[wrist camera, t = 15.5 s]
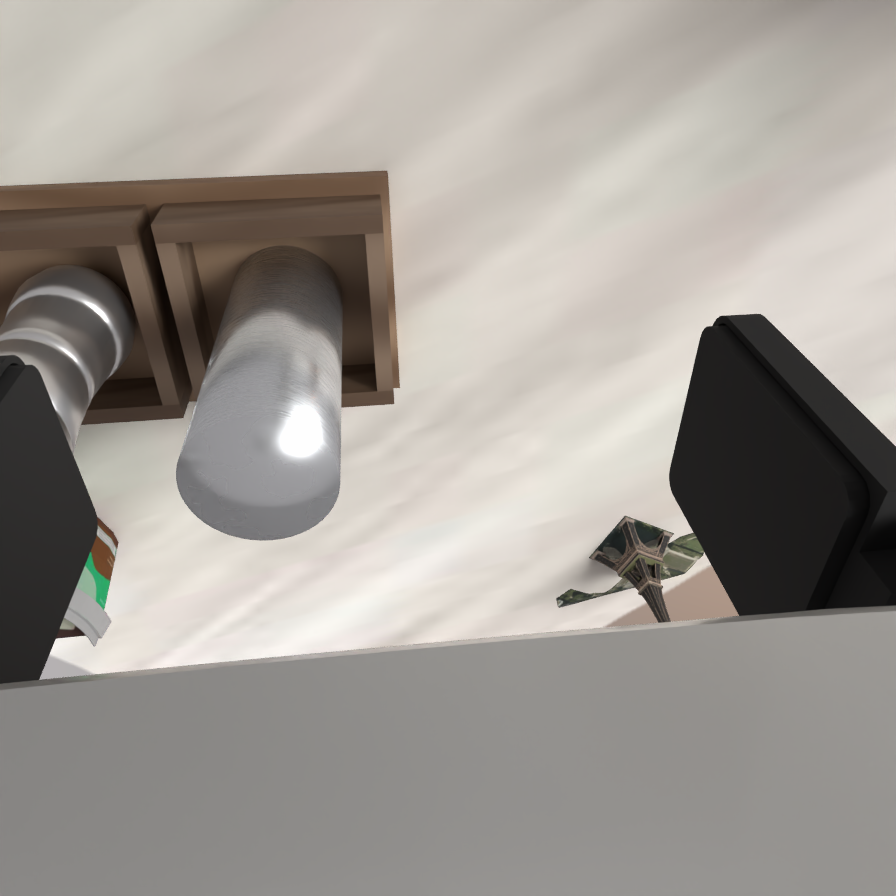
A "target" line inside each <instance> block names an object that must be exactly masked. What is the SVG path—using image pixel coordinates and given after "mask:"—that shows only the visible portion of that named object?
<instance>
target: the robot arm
mask: <svg viewBox="0 0 896 896" xmlns="http://www.w3.org/2000/svg"><path fill="white" fill-rule="evenodd" d="M669 481H670V487H671V491H672V493H673V496H674V497H675V499H676V501H677V503H678V505H679V506H680V508H681V510H682V512H683V514H684V516H685V517H686V519H687V521H688V523H689V525H690V527H691V528H692V530H693V532H694V534H695V536H696V537H697V539H698V541H699V543H700V545H701V547H702V548H703V550H704V552H705V554H706V556H707V558H708V559H709V561H710V563H711V565H712V567H713V568H714V570H715V572H716V574H717V575H718V578H719V579H720V581H721V583H722V585H723V587H724V588H725V590H726V592H727V594H728V596H729V598H730V599H731V601H732V603H733V605H734V607H735V609H736V610H737V612H738V614H739V616H733V617H723V618H722V617H721V618H710V619H698V620H686V621H675V622H663V623H652V624H640V625H629V626H617V627H604V628H593V629H581V630H569V631H558V632H546V633H534V634H523V635H512V636H501V637H490V638H479V639H468V640H457V641H446V642H434V643H423V644H412V645H401V646H390V647H380V648H369V649H358V650H347V651H336V652H325V653H314V654H303V655H293V656H282V657H271V658H261V659H250V660H240V661H229V662H219V663H209V664H198V665H188V666H178V667H167V668H157V669H146V670H136V671H126V672H115V673H105V674H95V675H86V676H85V675H84V676H74V677H65V678H64V677H63V678H53V679H44V680H39V679H40V676H41V674H42V671H43V669H44V666H45V664H46V661H47V659H48V656H49V654H50V651H51V649H52V646H53V644H54V641H55V639H56V636H57V634H58V631H59V629H60V626H61V624H62V621H63V619H64V617H65V614H66V612H67V609H68V607H69V604H70V602H71V599H72V597H73V594H74V592H75V589H76V587H77V584H78V582H79V579H80V577H81V574H82V572H83V569H84V567H85V564H86V562H87V559H88V557H89V554H90V552H91V549H92V547H93V544H94V542H95V539H96V536H97V530H98V521H97V515H96V512H95V509H94V506H93V504H92V501H91V499H90V496H89V494H88V491H87V489H86V486H85V484H84V481H83V479H82V476H81V474H80V471H79V469H78V466H77V464H76V461H75V459H74V456H73V454H72V451H71V449H70V446H69V444H68V441H67V439H66V436H65V434H64V431H63V429H62V426H61V424H60V421H59V419H58V416H57V414H56V411H55V409H54V406H53V404H52V401H51V398H50V396H49V393H48V391H47V388H46V386H45V383H44V381H43V378H42V376H41V374H40V372H39V370H38V369H37V368H36V367H35V366H33V365H25V363H24V362H23V361H22V360H21V358H20V357H18V356H16V355H3V356H0V896H896V446H895V445H894V444H893V443H892V442H891V441H890V440H889V439H888V438H887V437H886V436H885V435H884V434H882V433H881V432H880V431H879V430H878V429H877V428H876V427H875V426H874V425H873V424H872V423H871V422H870V421H869V420H868V419H867V418H866V417H865V416H864V415H863V414H862V413H861V412H860V411H859V410H858V409H857V408H856V407H855V406H854V405H853V404H852V403H851V402H850V401H849V400H848V399H847V398H846V397H845V396H844V395H843V394H842V393H841V392H840V391H839V390H838V389H837V388H836V387H835V386H834V385H833V384H832V383H831V382H830V381H829V380H828V379H827V378H826V377H825V376H824V375H823V374H822V373H821V372H820V371H819V370H818V369H817V368H816V367H815V366H814V365H813V364H812V363H811V362H810V361H809V360H808V359H807V358H806V357H805V356H804V355H803V354H802V353H801V352H800V351H799V350H798V349H797V348H796V347H795V346H794V345H793V344H792V343H791V342H790V341H789V340H788V339H787V338H786V337H785V336H784V335H783V334H782V333H781V332H780V331H779V330H778V329H777V328H776V327H775V326H773V325H772V324H771V323H770V322H769V321H768V320H767V319H766V318H765V317H764V316H763V315H761V314H749V315H731V316H720V317H719V318H717V319H716V321H715V322H714V324H713V326H709V327H706V328H705V329H704V330H703V332H702V334H701V337H700V341H699V346H698V350H697V354H696V359H695V363H694V367H693V372H692V376H691V380H690V385H689V389H688V393H687V398H686V402H685V406H684V411H683V415H682V419H681V424H680V428H679V432H678V437H677V441H676V445H675V450H674V454H673V458H672V463H671V467H670V473H669Z"/></svg>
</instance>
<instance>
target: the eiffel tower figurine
mask: <svg viewBox="0 0 896 896" xmlns="http://www.w3.org/2000/svg"><path fill="white" fill-rule="evenodd" d="M673 534H674V533H671V532H668V531H666V530H663V529H660V528H658V527H655V526H652V525H649V524H647V523H644V522H641V521H638V520H636V519H633V518H630V517H628V516H624V518H623V519H622V520H621V521H620V522H619V523H618V525H617V526H616V527H615V528H614V529H613V530H612V532H611V533H610V534H609V535H608V536H607V537H606V539H605V540H604V541H603V542H602V543H601V544H600V546H599V547H598V548H597V549H596V550H595V551H594V553H593V554H592V555H591V556H590V557H589V558H591V559H594V560H596V561H598V562H600V563H602V564H604V565H606V566H608V567H609V568H611V569H613V570H615V571H617V573H618V576H619V577H621V578H622V579H621V580H620V581H619V582H618V583H617V584H616V585H615V586H614V587H613V588H612V589H610V590H609V591H607V592H605V593H592V594H587V593H583V592H580V591H576V590H573V589H570V590H568V591H567V592H565V593H564V594H562V595H561V596H560V597H558V598H557V599H556V600H557V603H558V606H559V608H560V607H564V606H568V605H571V604H575V603H579V602H582V601H586V600H589V599H593V598H596V597H600V596H604V595H607V594H611V593H615V592H619V591H623V590H627V589H631V588H636V589H637V590H638V591H639V592H638V594H639V595H642V596H643V598H644V599H645V600H646V602H647V603H648V605H649V607H650V608H651V610H652V612H653V613H654V615H655V617H656V618H657V620H658V623H663V622H671V621H670V618H669V615H668V612H667V609H666V606H665V602H664V599H663V595H662V590H661V589H662V588H663V586H662V585H661V580H664V579H667V578H671V577H675V576H678V575H682V574H685V573H686V572H687V571H688V570H689V569H690V568H691V567H692V566H693V565H694V563H695V562H696V561H697V560H698V559H699V558H701V557H702V556H703V553H704V550H703V548H702V547H701V545H700V543H699V541H698V539H697V537H696V536H695V534H694V533H691V534H688V535H685V536H681V537H679V538H678V539H676V540H674V541H672V542H671V543H669V544H668V542H669V540H670V538H671V537H672V535H673ZM711 566H712V565H711ZM708 567H709V566H708Z"/></svg>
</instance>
